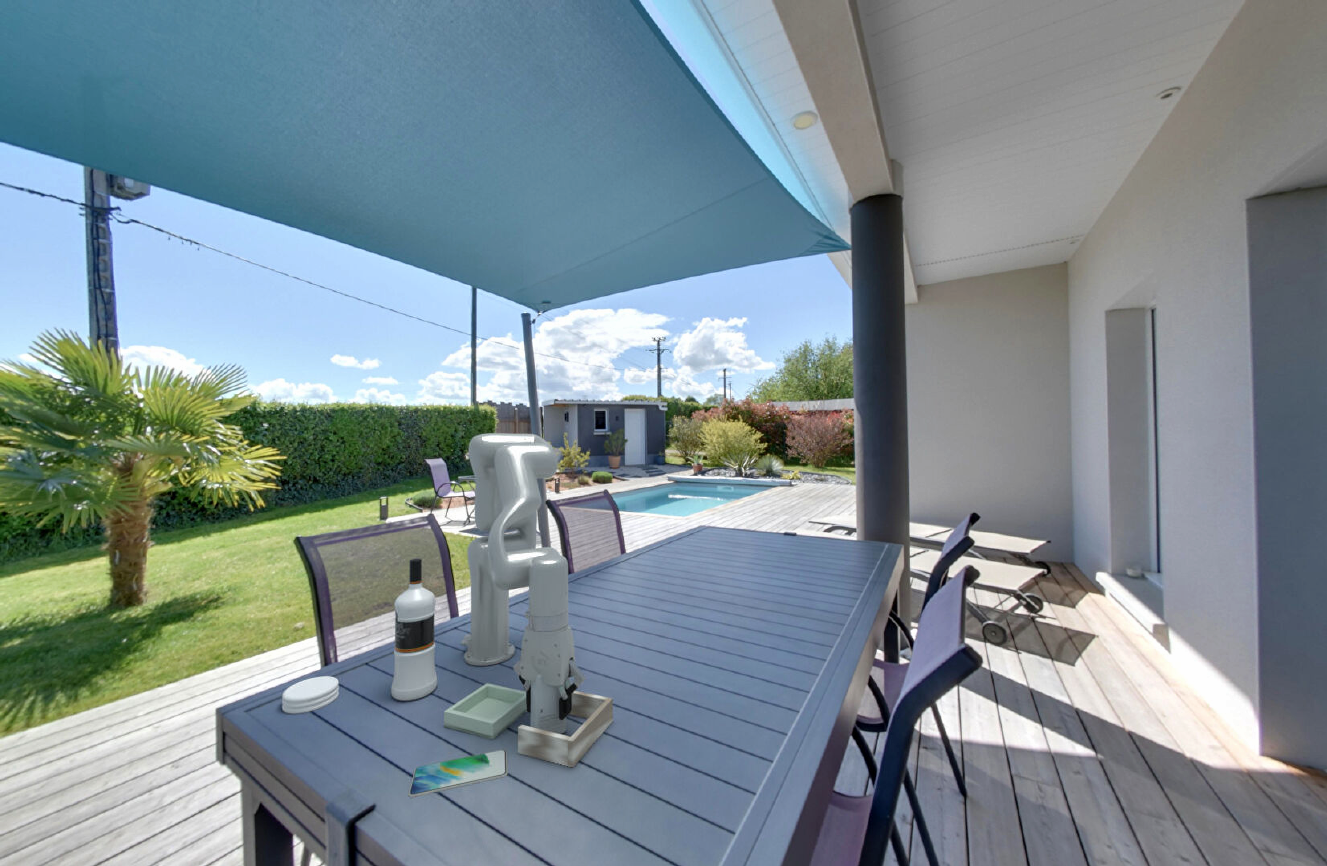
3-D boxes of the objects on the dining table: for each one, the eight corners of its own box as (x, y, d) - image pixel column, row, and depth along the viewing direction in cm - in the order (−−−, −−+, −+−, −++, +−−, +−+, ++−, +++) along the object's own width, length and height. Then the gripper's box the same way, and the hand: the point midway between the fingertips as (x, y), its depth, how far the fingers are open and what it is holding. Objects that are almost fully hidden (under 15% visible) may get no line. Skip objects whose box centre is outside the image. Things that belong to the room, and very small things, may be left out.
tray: (444, 726, 95) (444, 711, 95) (486, 697, 106) (486, 683, 106) (492, 739, 91) (492, 723, 91) (531, 707, 102) (531, 693, 102)
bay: (517, 752, 87) (517, 727, 87) (563, 710, 101) (563, 688, 101) (572, 768, 83) (572, 741, 83) (612, 721, 97) (612, 698, 97)
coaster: (349, 695, 108) (349, 679, 108) (303, 719, 99) (303, 701, 99) (317, 687, 111) (318, 672, 111) (270, 710, 102) (270, 693, 102)
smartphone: (507, 774, 81) (407, 796, 76) (507, 779, 81) (407, 801, 76) (506, 748, 87) (415, 766, 83) (506, 752, 87) (415, 771, 83)
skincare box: (537, 742, 90) (537, 677, 90) (529, 731, 93) (529, 668, 94) (568, 731, 93) (568, 668, 93) (559, 720, 97) (559, 660, 97)
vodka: (437, 697, 106) (437, 561, 107) (389, 706, 103) (390, 565, 103) (437, 678, 115) (438, 552, 116) (393, 687, 111) (394, 556, 112)
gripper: (499, 621, 93) (499, 714, 93) (577, 632, 87) (577, 732, 87) (524, 608, 100) (523, 695, 100) (597, 618, 94) (597, 711, 94)
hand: (548, 711), depth 93 cm, fingers closed on skincare box, 6 cm apart
